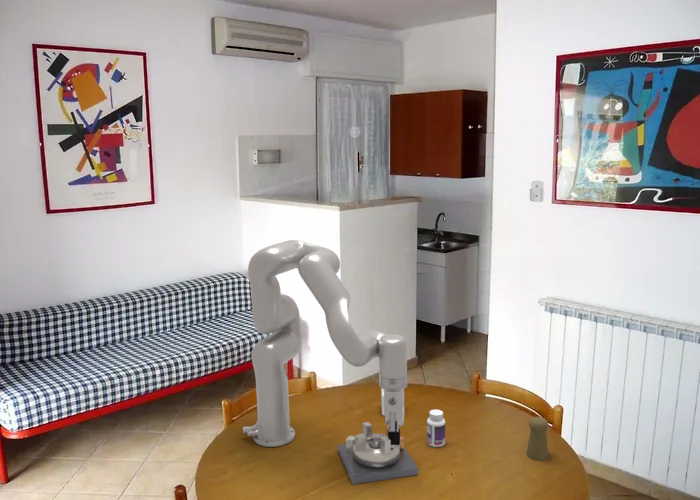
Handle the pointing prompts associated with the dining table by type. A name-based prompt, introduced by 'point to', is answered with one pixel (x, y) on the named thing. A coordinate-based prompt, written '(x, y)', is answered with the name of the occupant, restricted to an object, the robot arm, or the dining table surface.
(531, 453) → the olive pawn
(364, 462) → the round disc with cubes
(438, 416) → the pill bottle
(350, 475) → the base plate
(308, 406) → the dining table surface
